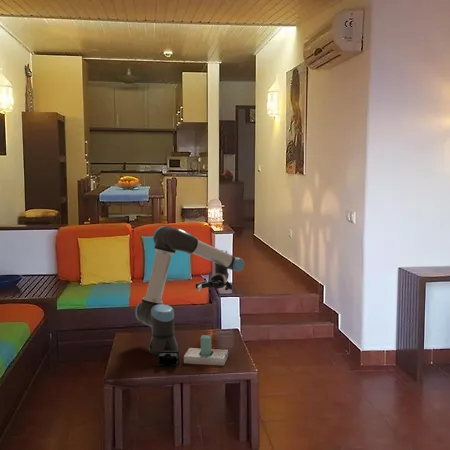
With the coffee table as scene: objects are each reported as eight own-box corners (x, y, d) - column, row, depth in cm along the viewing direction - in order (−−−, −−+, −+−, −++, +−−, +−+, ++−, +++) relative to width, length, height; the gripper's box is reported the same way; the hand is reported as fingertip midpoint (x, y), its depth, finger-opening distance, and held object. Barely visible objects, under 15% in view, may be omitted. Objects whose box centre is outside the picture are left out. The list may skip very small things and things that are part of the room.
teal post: (200, 361, 282) (200, 338, 281) (202, 358, 287) (202, 335, 285) (209, 361, 282) (209, 338, 280) (211, 358, 286) (211, 335, 284)
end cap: (179, 362, 281) (179, 349, 280) (178, 368, 274) (177, 354, 273) (159, 362, 282) (159, 349, 281) (157, 367, 275) (157, 354, 274)
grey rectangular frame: (183, 363, 280) (183, 356, 279) (189, 354, 292) (189, 347, 291) (223, 365, 277) (223, 358, 276) (227, 356, 288) (227, 349, 288)
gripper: (239, 287, 321) (234, 297, 301) (196, 286, 325) (188, 296, 305) (239, 274, 320) (234, 283, 299) (196, 273, 324) (188, 282, 304)
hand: (211, 290), depth 302 cm, fingers open, 13 cm apart
